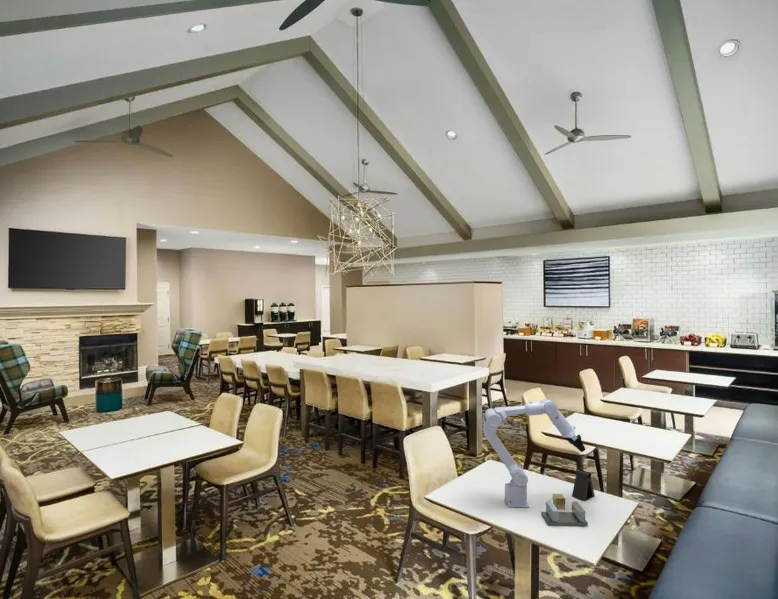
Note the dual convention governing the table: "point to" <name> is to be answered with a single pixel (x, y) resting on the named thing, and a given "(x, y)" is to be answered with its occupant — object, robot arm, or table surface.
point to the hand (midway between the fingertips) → (580, 448)
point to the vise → (568, 517)
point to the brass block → (559, 501)
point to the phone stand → (583, 486)
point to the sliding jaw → (552, 511)
